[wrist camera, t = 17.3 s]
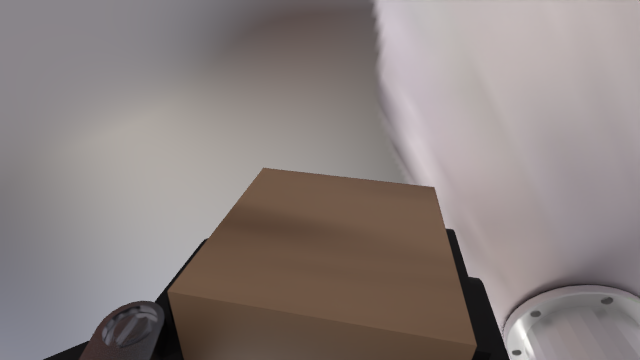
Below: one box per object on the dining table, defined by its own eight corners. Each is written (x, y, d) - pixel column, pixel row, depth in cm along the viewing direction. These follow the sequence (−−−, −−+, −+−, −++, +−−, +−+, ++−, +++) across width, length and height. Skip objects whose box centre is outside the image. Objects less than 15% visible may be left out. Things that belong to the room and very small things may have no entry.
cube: (406, 311, 12) (417, 495, 7) (269, 289, 12) (204, 443, 8) (434, 187, 9) (476, 345, 5) (263, 167, 10) (167, 291, 6)
